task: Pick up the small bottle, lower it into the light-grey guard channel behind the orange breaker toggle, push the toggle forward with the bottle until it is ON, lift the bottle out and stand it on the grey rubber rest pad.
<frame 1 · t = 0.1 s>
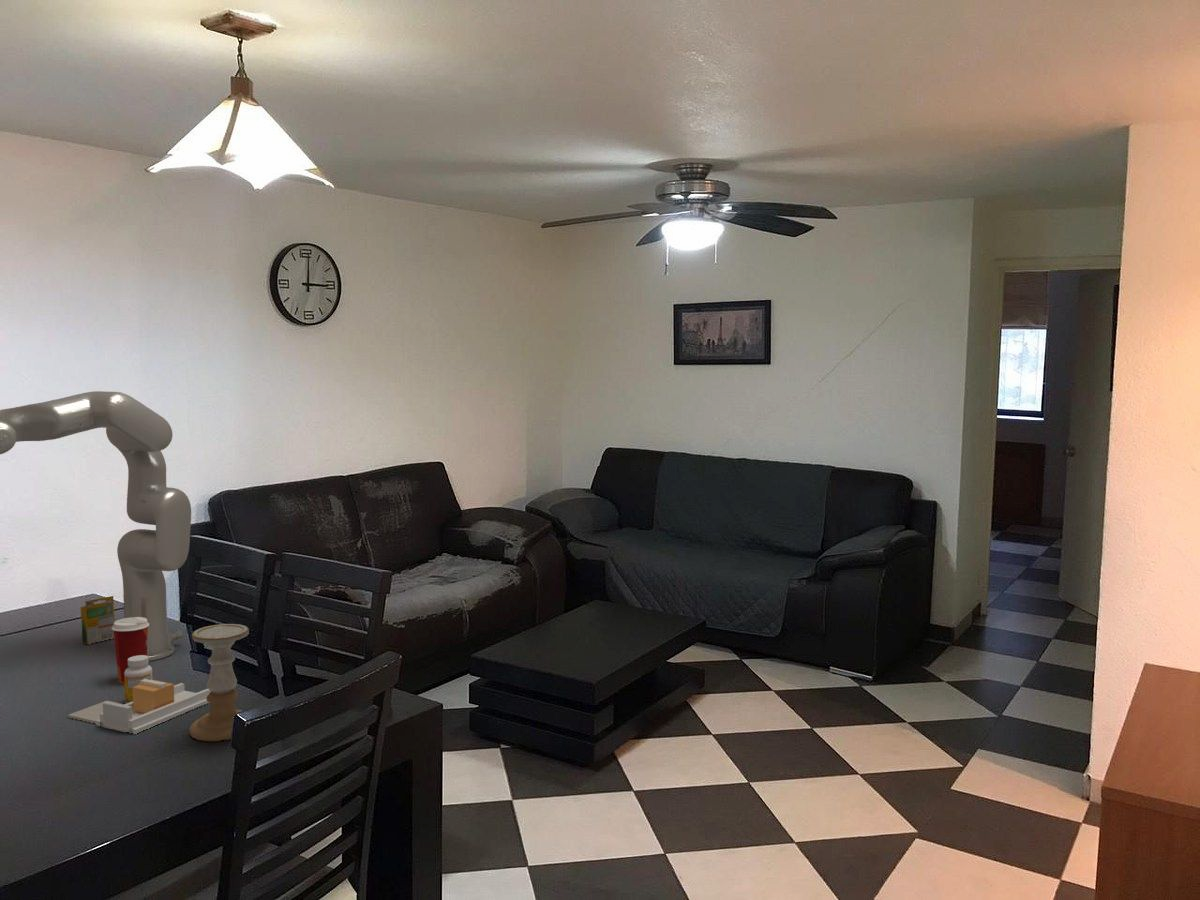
crayon box: (99, 641, 240), on the table
guard channel: (158, 713, 191), on the table
supplement bottle: (139, 702, 197), on the table
paper cup: (132, 681, 210), on the table
rest pad: (103, 713, 190), on the table
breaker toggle: (153, 695, 189), point 4 cm above the table, slide at 0.0 cm
candle holder: (223, 730, 182), on the table
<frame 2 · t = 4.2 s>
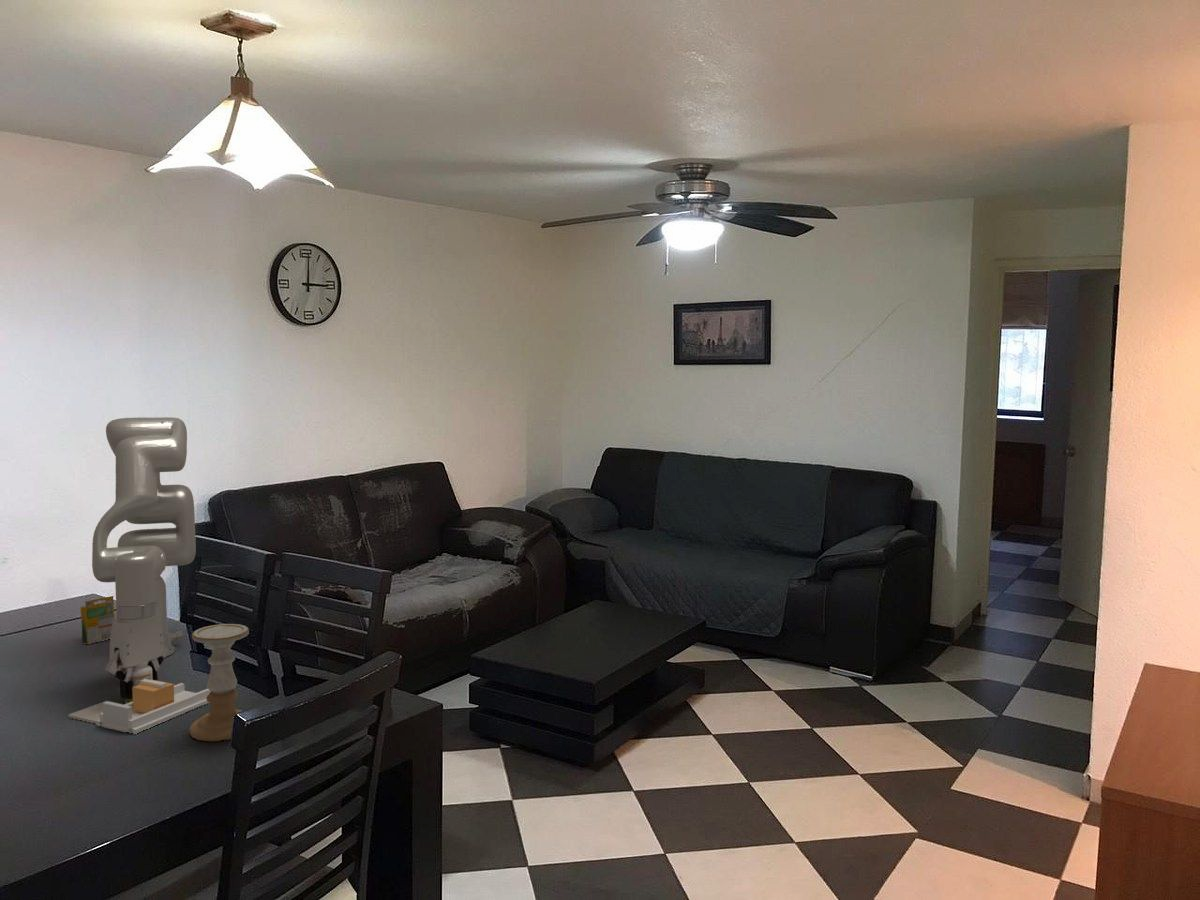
hand: (139, 692, 197), 2 cm above the table, tool pointing down, fingers closed on supplement bottle, 5 cm apart
supplement bottle: (139, 702, 197), on the table, touching gripper
everything else where it was.
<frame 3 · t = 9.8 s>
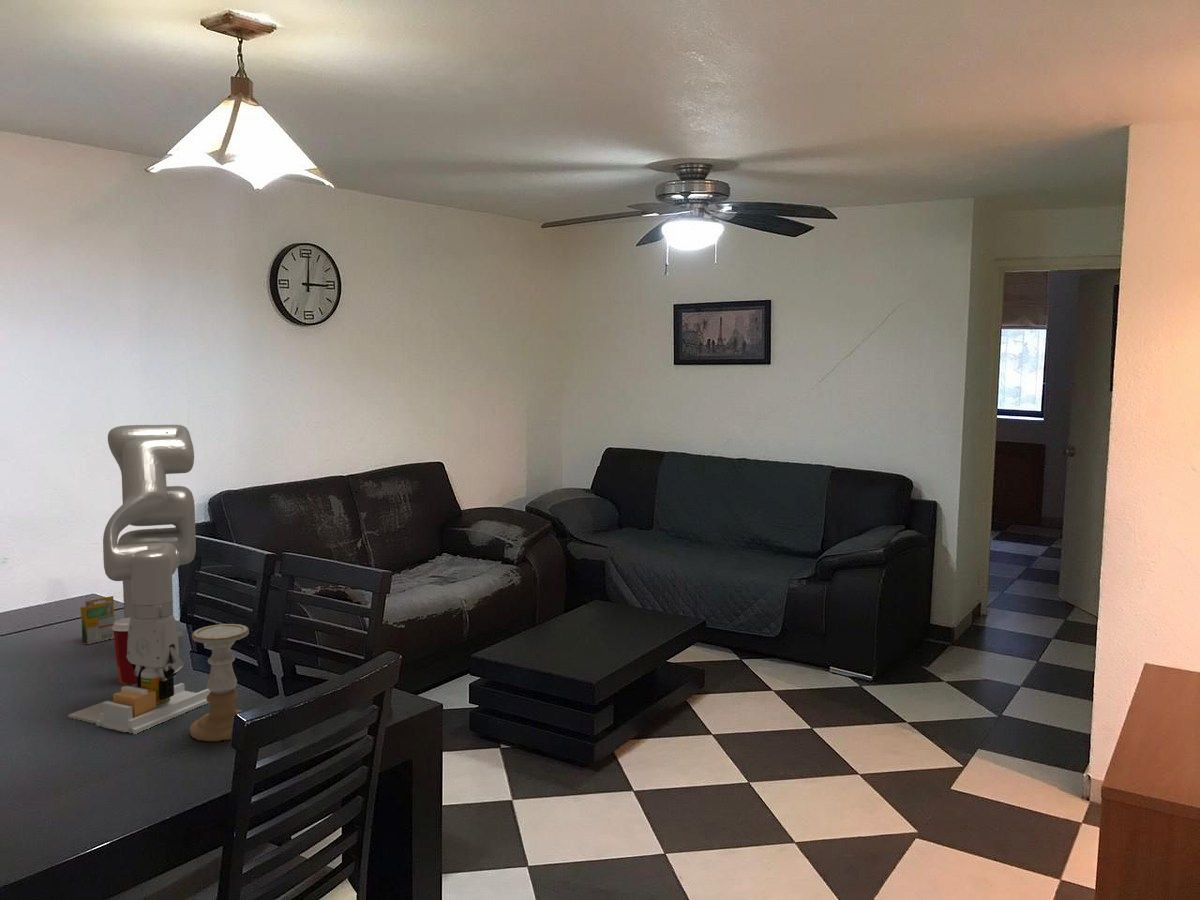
hand: (155, 694, 190), 4 cm above the table, tool pointing down, fingers closed on supplement bottle, 5 cm apart
supplement bottle: (156, 705, 190), point 2 cm above the table, touching gripper
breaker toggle: (134, 702, 185), point 4 cm above the table, slide at 4.5 cm
everything else where it was.
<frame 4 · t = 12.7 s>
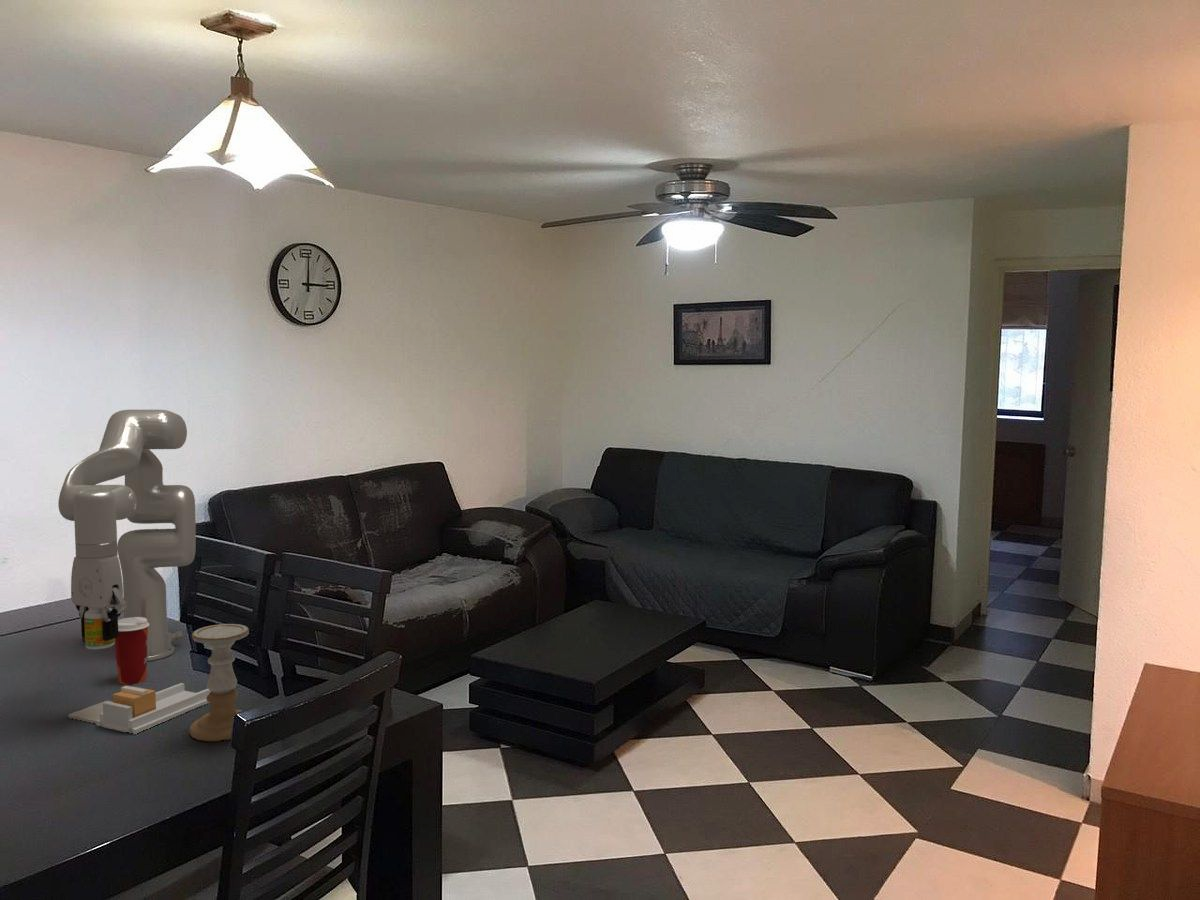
hand: (100, 636, 189), 16 cm above the table, tool pointing down, fingers closed on supplement bottle, 5 cm apart
supplement bottle: (100, 646, 189), point 14 cm above the table, touching gripper
everything else where it was.
when the fingers open (4 cm above the table, at t = 15.3 s): supplement bottle drops 1 cm, resting on rest pad.
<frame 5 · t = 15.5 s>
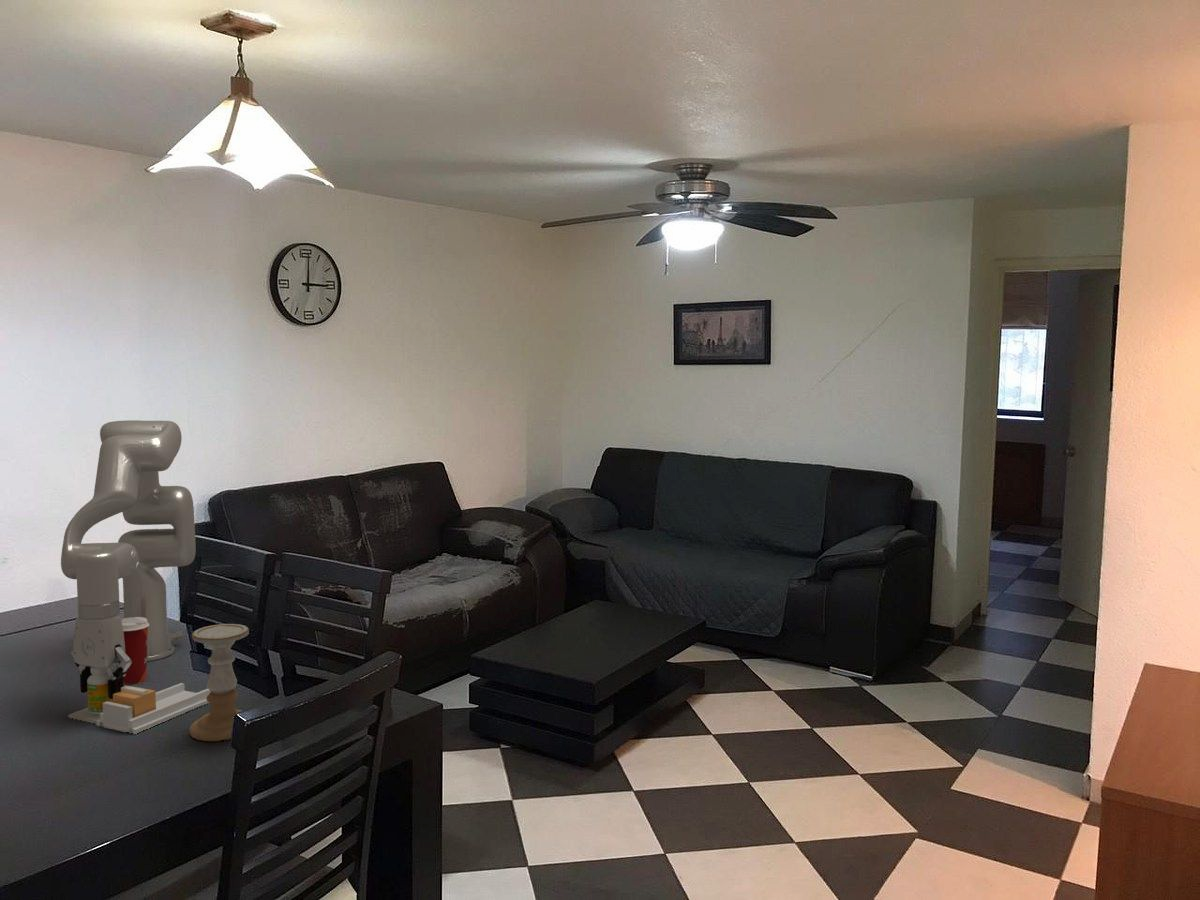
hand: (102, 693, 190), 4 cm above the table, tool pointing down, fingers open, 7 cm apart
supplement bottle: (103, 711, 190), resting on rest pad
everything else where it was.
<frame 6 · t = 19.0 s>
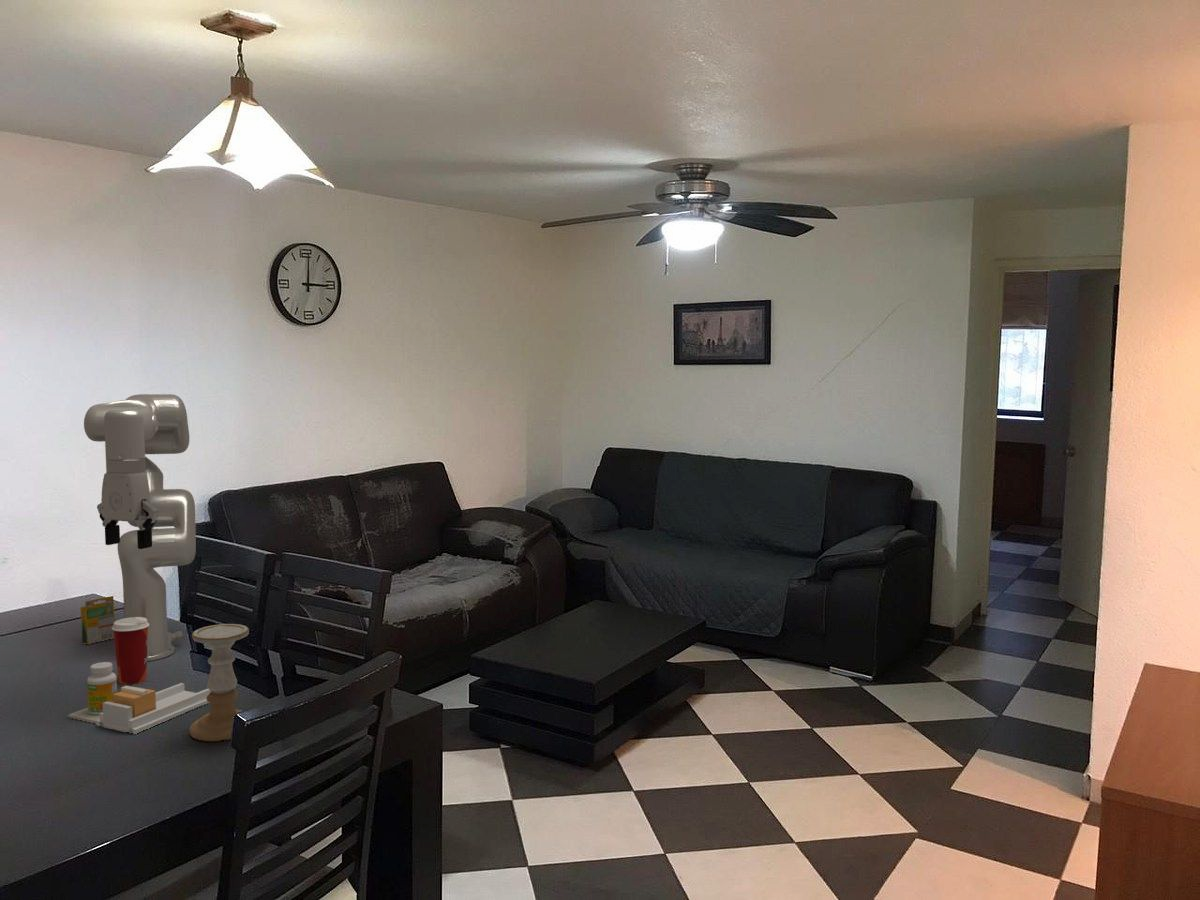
hand: (128, 546, 198), 33 cm above the table, tool pointing down, fingers open, 9 cm apart
nothing on the table moved.
at the end: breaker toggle slide at 4.5 cm; supplement bottle inside the target area on the rest pad (0.1 cm from its centre), point 0.4 cm above the rest pad's base; supplement bottle tilted 0° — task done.
